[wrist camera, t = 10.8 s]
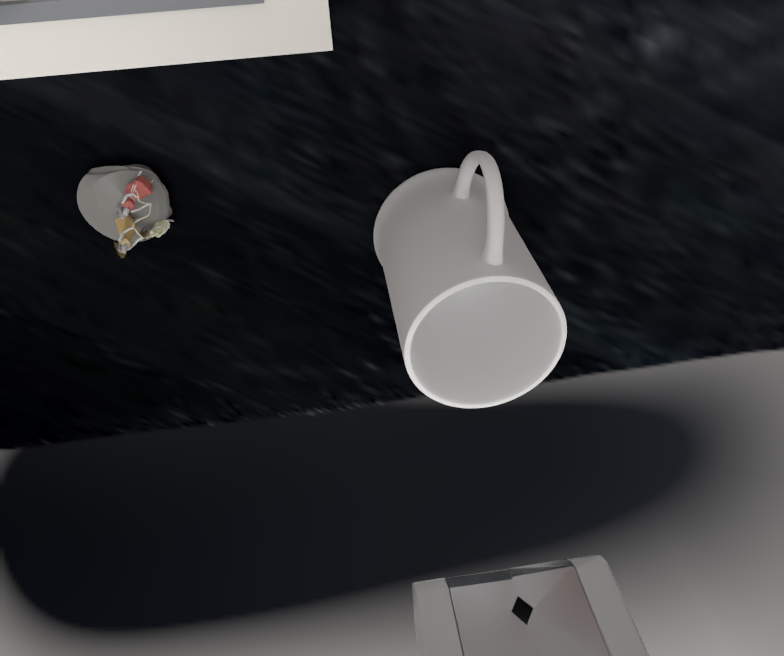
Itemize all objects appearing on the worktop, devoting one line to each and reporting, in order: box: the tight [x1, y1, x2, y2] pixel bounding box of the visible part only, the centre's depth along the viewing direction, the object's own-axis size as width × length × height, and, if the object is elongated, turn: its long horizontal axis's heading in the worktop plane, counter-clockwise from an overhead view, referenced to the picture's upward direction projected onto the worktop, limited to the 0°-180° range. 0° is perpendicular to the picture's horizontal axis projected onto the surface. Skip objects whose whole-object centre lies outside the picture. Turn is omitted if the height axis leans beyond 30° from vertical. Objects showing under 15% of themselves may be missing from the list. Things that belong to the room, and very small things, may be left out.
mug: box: [373, 151, 567, 408], centre depth 37 cm, size 12×8×12 cm
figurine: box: [77, 164, 174, 258], centre depth 36 cm, size 5×4×6 cm
